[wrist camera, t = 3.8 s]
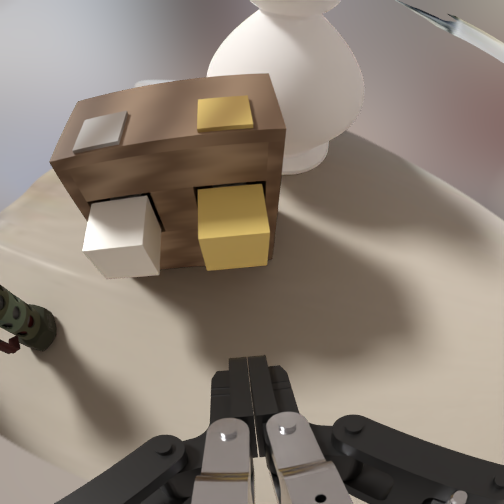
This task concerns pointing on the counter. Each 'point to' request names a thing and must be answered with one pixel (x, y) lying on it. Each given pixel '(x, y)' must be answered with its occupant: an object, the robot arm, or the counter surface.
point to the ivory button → (123, 237)
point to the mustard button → (233, 226)
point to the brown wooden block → (175, 151)
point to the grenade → (25, 323)
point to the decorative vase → (298, 73)
